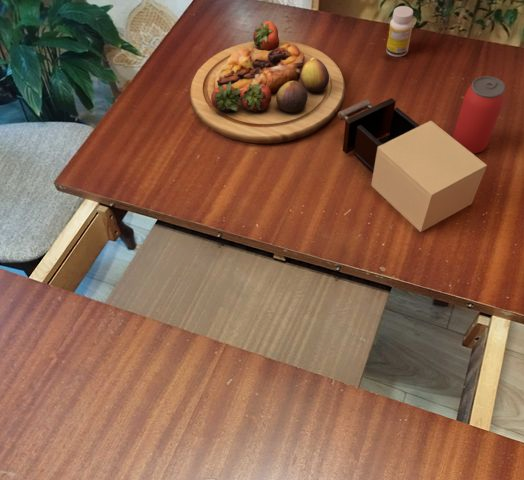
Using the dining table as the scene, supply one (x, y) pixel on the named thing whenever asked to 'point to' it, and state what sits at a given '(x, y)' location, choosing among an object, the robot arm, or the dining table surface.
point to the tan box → (426, 175)
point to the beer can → (479, 113)
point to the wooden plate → (267, 89)
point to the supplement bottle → (400, 31)
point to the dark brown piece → (372, 128)
